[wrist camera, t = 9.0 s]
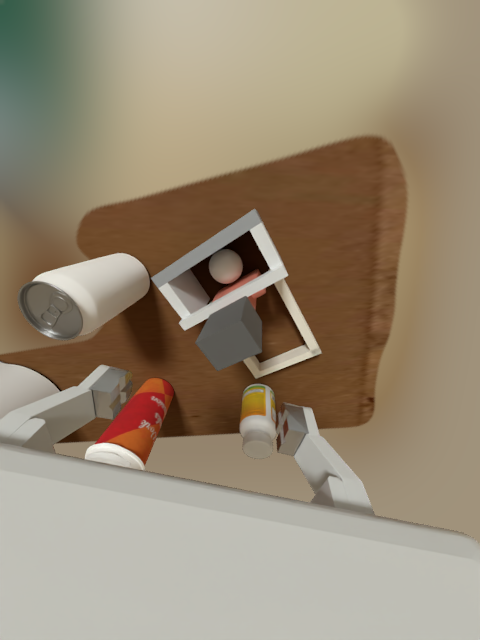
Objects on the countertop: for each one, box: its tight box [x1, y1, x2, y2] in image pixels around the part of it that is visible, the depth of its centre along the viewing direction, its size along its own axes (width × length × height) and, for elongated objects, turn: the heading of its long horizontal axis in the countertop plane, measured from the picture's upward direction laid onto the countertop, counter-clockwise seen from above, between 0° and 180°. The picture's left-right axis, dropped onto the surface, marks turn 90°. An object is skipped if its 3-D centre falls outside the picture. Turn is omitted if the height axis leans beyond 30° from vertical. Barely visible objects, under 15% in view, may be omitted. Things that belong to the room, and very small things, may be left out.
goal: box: [151, 209, 288, 330], centre depth 23 cm, size 12×6×8 cm, turn 121°
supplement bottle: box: [240, 384, 276, 459], centre depth 32 cm, size 5×5×10 cm
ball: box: [209, 249, 243, 284], centre depth 25 cm, size 4×4×4 cm
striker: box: [195, 268, 266, 371], centre depth 22 cm, size 6×3×14 cm, turn 121°
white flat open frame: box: [209, 269, 322, 379], centre depth 29 cm, size 10×13×2 cm
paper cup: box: [85, 378, 174, 471], centre depth 32 cm, size 8×8×14 cm
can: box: [18, 253, 150, 340], centre depth 24 cm, size 6×6×12 cm
